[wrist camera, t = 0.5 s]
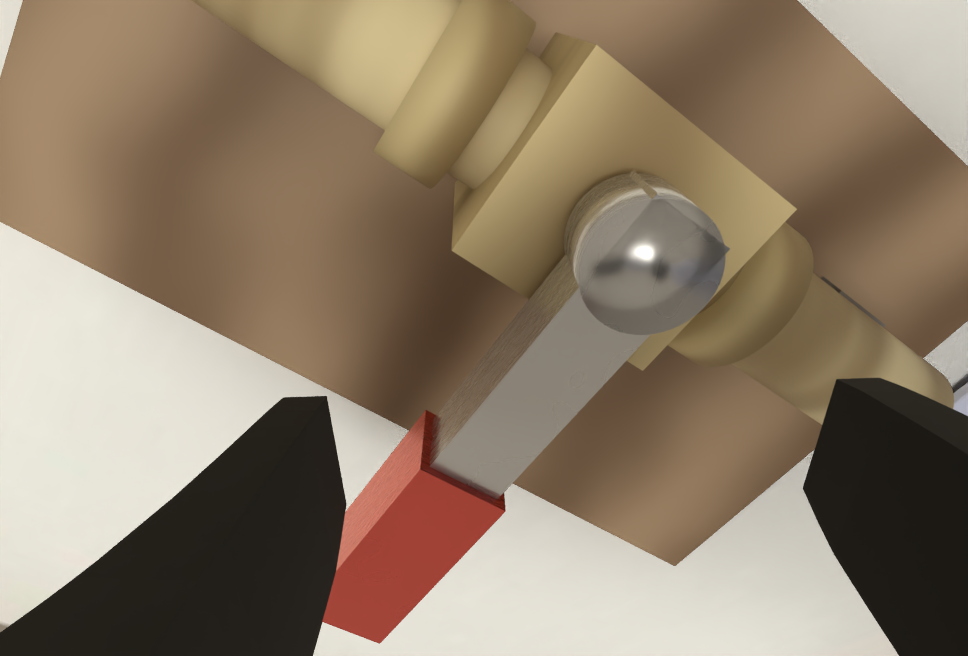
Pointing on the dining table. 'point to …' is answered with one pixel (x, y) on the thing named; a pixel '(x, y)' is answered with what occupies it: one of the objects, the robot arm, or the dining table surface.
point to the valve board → (382, 242)
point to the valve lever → (523, 393)
